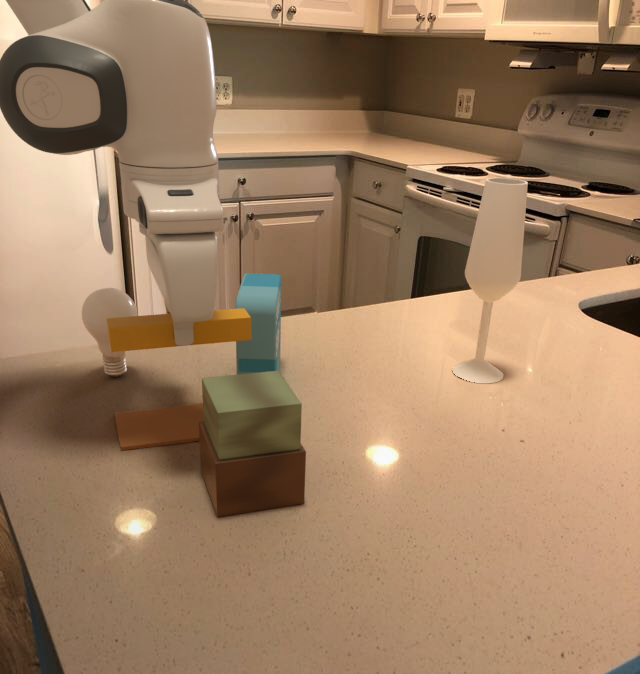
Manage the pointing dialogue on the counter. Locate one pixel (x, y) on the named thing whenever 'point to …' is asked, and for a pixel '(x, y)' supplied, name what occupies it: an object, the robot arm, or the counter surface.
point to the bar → (160, 330)
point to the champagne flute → (494, 262)
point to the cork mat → (159, 426)
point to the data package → (260, 323)
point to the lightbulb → (95, 321)
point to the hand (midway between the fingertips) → (180, 335)
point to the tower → (251, 443)
